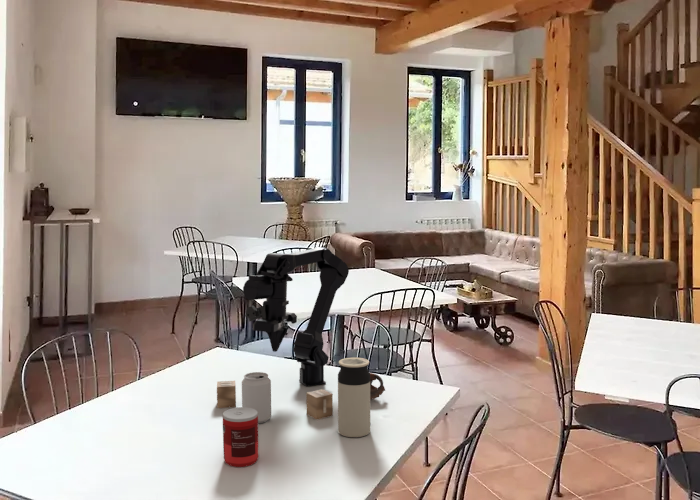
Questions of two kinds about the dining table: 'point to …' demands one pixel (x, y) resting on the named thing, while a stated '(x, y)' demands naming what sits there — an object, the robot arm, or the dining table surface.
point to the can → (257, 394)
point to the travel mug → (354, 397)
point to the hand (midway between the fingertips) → (274, 351)
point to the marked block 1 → (226, 394)
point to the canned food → (240, 436)
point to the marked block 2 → (319, 404)
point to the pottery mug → (374, 390)
